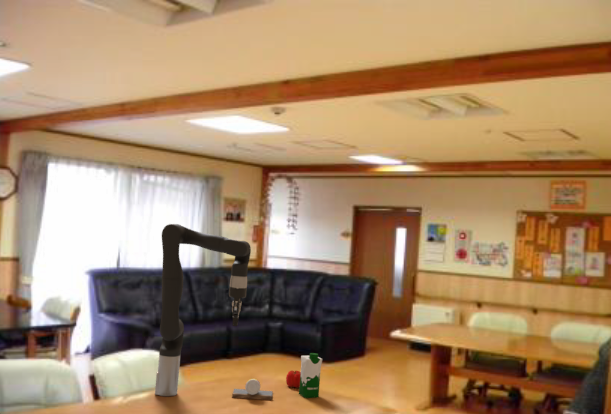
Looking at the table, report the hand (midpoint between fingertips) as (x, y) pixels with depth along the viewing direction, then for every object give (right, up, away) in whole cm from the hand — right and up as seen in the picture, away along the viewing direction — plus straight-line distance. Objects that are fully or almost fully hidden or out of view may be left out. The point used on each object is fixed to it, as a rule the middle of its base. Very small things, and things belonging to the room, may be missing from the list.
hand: (234, 325), depth 264 cm
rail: (+7, -34, +7) cm, 35 cm away
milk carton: (+32, -37, +19) cm, 52 cm away
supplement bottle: (+7, -28, +5) cm, 30 cm away
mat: (+7, -34, +14) cm, 37 cm away
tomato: (+26, -37, +32) cm, 55 cm away
